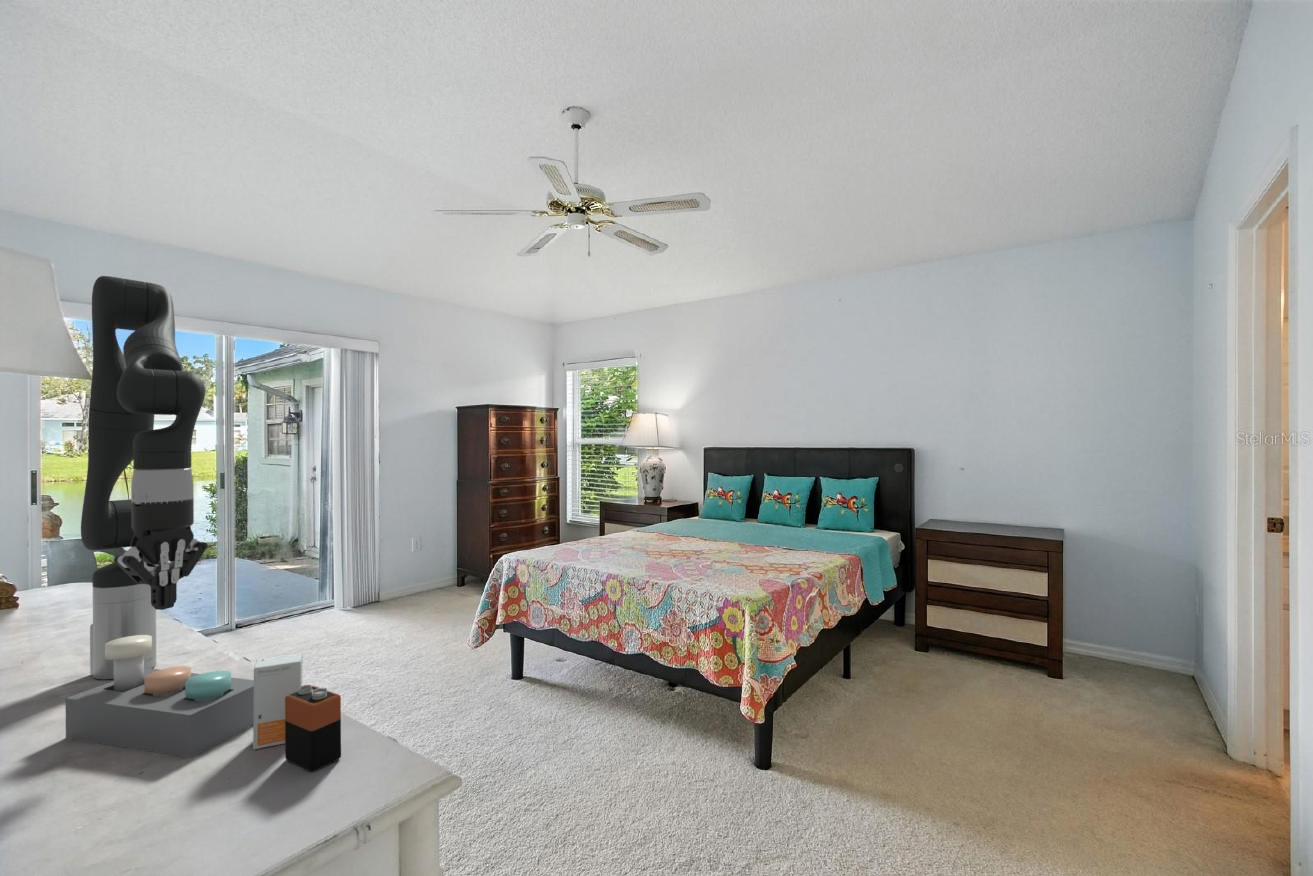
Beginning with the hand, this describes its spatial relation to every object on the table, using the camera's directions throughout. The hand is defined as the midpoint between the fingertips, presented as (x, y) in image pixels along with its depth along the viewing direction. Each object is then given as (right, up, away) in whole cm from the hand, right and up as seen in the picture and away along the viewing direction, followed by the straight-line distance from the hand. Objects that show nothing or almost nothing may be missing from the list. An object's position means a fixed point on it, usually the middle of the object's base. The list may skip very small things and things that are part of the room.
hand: (163, 608), depth 94 cm
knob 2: (+9, -17, -2) cm, 20 cm away
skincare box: (+21, -19, -4) cm, 28 cm away
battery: (+29, -19, -10) cm, 36 cm away
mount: (+1, -19, 0) cm, 19 cm away
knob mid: (+1, -17, 0) cm, 18 cm away
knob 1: (-7, -13, +2) cm, 15 cm away
